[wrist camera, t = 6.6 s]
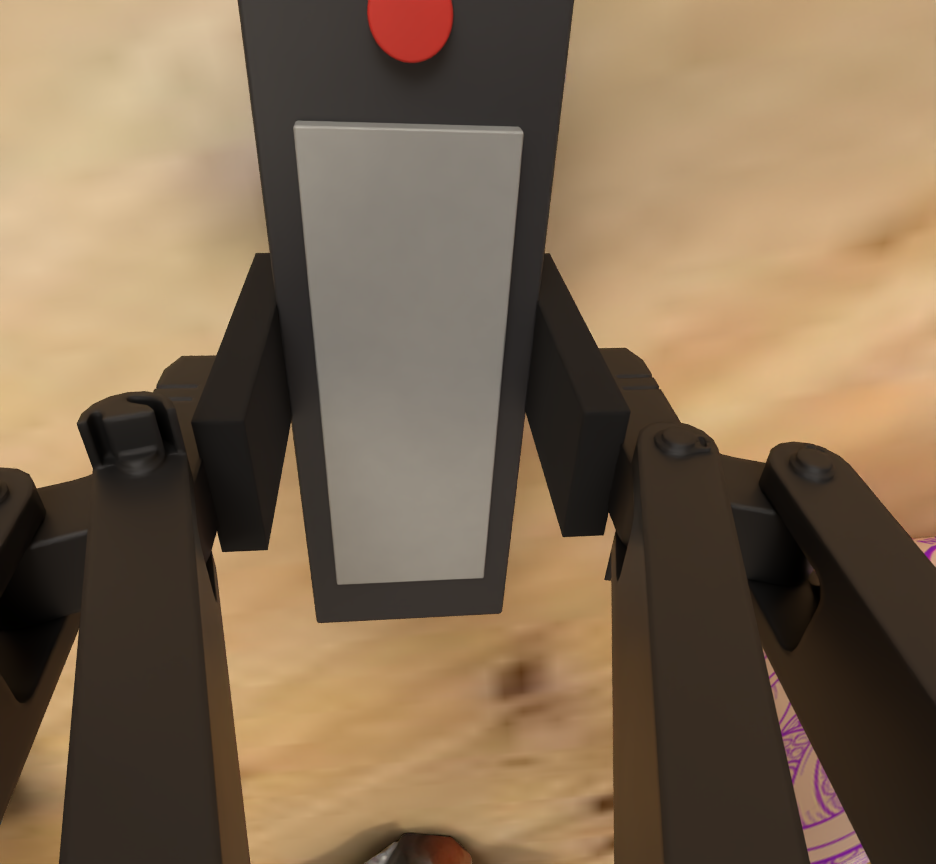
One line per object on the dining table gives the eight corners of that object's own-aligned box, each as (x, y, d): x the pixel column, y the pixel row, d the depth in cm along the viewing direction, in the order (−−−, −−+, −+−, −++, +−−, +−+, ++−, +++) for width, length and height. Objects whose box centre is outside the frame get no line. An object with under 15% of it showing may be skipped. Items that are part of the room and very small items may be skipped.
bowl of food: (975, 336, 23) (1392, 619, 13) (1138, 582, 32) (1450, 850, 23) (538, 646, 30) (609, 967, 21) (774, 772, 39) (895, 1032, 30)
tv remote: (489, 543, 22) (504, 626, 19) (323, 550, 21) (315, 636, 19) (555, -160, 12) (604, -184, 9) (243, -184, 11) (202, -217, 9)
